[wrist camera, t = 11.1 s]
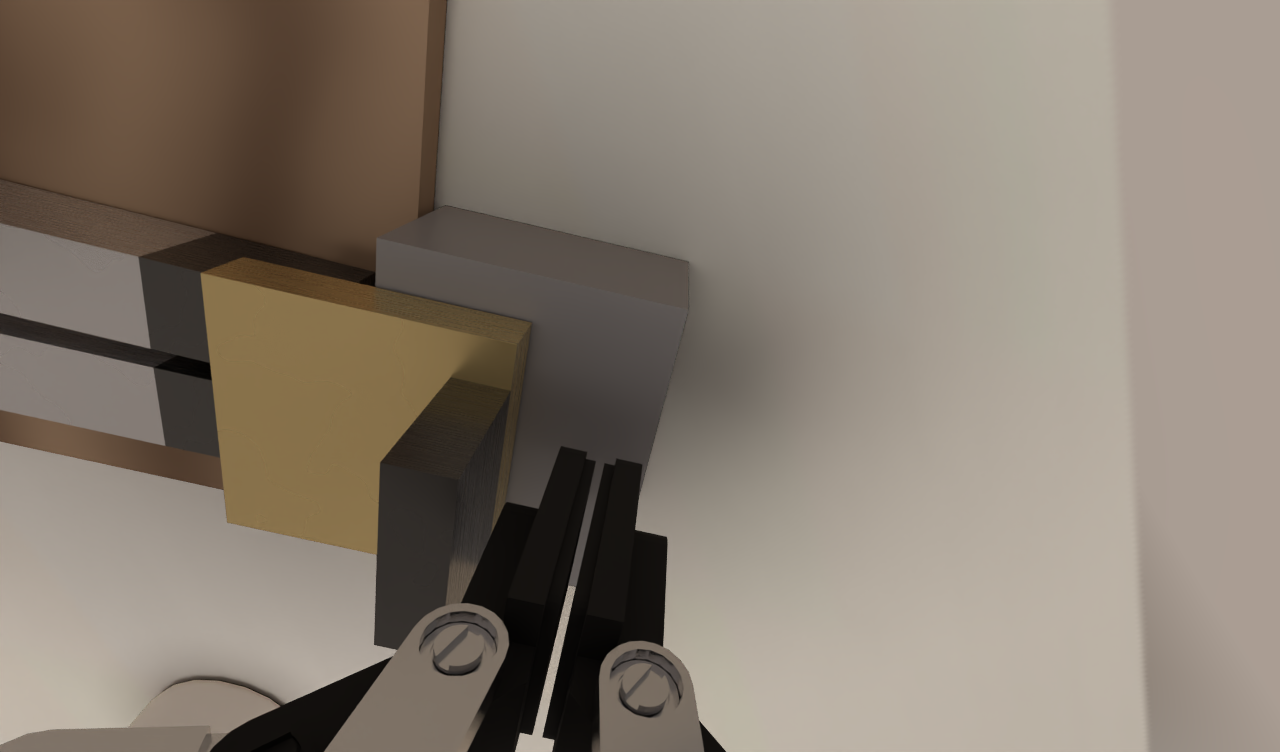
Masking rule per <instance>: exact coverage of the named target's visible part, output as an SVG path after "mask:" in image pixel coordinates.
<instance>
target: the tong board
mask: <svg viewBox="0 0 1280 752" xmlns="http://www.w3.org/2000/svg"><path fill="white" fill-rule="evenodd" d="M446 6H447V0H0V180H4V181H8V182H12V183H16V184H20V185H24V186H28V187H33V188H37V189H41V190H45V191H49V192H53V193H57V194H61V195H65V196H69V197H73V198H77V199H81V200H85V201H89V202H93V203H98V204H102V205H106V206H110V207H114V208H118V209H122V210H126V211H130V212H134V213H138V214H142V215H146V216H150V217H154V218H158V219H162V220H167V221H171V222H175V223H179V224H183V225H187V226H191V227H195V228H199V229H203V230H207V231H211V232H215V233H219V234H223V235H227V236H231V237H236V238H240V239H244V240H248V241H252V242H256V243H260V244H264V245H268V246H272V247H276V248H280V249H284V250H288V251H292V252H296V253H300V254H305V255H309V256H313V257H317V258H321V259H325V260H329V261H333V262H337V263H341V264H345V265H349V266H353V267H357V268H361V269H365V270H369V271H374V272H375V283H376V241H377V237H380V236H382V235H384V234H386V233H388V232H390V231H392V230H394V229H396V228H399V227H401V226H403V225H405V224H407V223H409V222H411V221H413V220H415V219H418V218H420V217H422V216H424V215H426V214H428V213H430V212H432V211H433V209H434V193H435V178H436V162H437V146H438V131H439V115H440V100H441V84H442V69H443V53H444V37H445V22H446ZM0 441H1V442H5V443H10V444H15V445H19V446H24V447H28V448H33V449H38V450H42V451H47V452H51V453H56V454H61V455H65V456H70V457H75V458H79V459H84V460H88V461H93V462H98V463H102V464H107V465H111V466H116V467H121V468H125V469H130V470H134V471H139V472H144V473H148V474H153V475H158V476H162V477H167V478H171V479H176V480H181V481H185V482H190V483H194V484H199V485H204V486H208V487H213V488H217V489H222V490H224V487H223V478H222V469H221V459H220V458H218V457H214V456H209V455H205V454H200V453H196V452H191V451H186V450H182V449H177V448H173V447H168V446H163V445H159V444H154V443H150V442H145V441H141V440H136V439H131V438H127V437H122V436H118V435H113V434H108V433H104V432H99V431H95V430H90V429H86V428H81V427H76V426H72V425H67V424H63V423H58V422H54V421H49V420H44V419H40V418H35V417H31V416H26V415H21V414H17V413H12V412H8V411H3V410H0Z"/></svg>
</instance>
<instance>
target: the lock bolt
mask: <svg viewBox="0 0 1280 752" xmlns="http://www.w3.org/2000/svg"><path fill="white" fill-rule="evenodd" d="M201 283H202V292H203V301H204V311H205V320H206V329H207V338H208V348H209V357H210V366H211V376H212V385H213V394H214V403H215V413H216V422H217V431H218V441H219V450H220V459H221V469H222V478H223V487H224V496H225V506H226V515H227V523H232V524H237V525H241V526H246V527H251V528H255V529H260V530H265V531H269V532H274V533H279V534H283V535H288V536H292V537H297V538H302V539H306V540H311V541H316V542H320V543H325V544H330V545H334V546H339V547H344V548H348V549H353V550H357V551H362V552H367V553H371V554H376V555H377V571H376V603H375V634H374V645H377V646H382V647H387V648H391V649H396V650H398V649H399V647H400V646H401V645H402V643H403V642H404V640H405V639H406V638H407V636H408V635H409V633H410V632H411V631H412V629H413V628H414V627H415V625H416V624H417V623H418V622H419V621H420V620H421V619H422V618H423V617H424V616H425V615H427V614H429V613H430V612H432V611H434V610H436V609H437V608H440V607H443V606H447V605H450V604H461V602H462V599H463V597H464V595H465V592H466V590H467V588H468V586H469V583H470V581H471V579H472V577H473V574H474V572H475V570H476V568H477V565H478V563H479V561H480V559H481V556H482V554H483V552H484V549H485V547H486V545H487V543H488V540H489V538H490V536H491V534H492V531H493V529H494V527H495V525H496V522H497V520H498V518H499V516H500V513H501V511H502V509H503V507H504V505H505V502H506V496H507V489H508V482H509V475H510V468H511V461H512V455H513V448H514V441H515V434H516V427H517V421H518V414H519V407H520V400H521V393H522V387H523V380H524V373H525V366H526V359H527V352H528V346H529V339H530V332H531V325H532V323H531V322H526V321H522V320H518V319H513V318H509V317H504V316H500V315H496V314H491V313H487V312H482V311H478V310H474V309H469V308H465V307H461V306H456V305H452V304H447V303H443V302H439V301H434V300H430V299H425V298H421V297H417V296H412V295H408V294H404V293H399V292H395V291H390V290H386V289H382V288H377V287H373V286H368V285H364V284H360V283H355V282H351V281H347V280H342V279H338V278H333V277H329V276H325V275H320V274H316V273H311V272H307V271H303V270H298V269H294V268H290V267H285V266H281V265H276V264H272V263H268V262H263V261H259V260H254V259H250V258H246V257H242V258H239V259H236V260H234V261H231V262H228V263H226V264H223V265H220V266H218V267H215V268H212V269H210V270H207V271H204V272H202V273H201Z"/></svg>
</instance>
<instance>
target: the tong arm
mask: <svg viewBox="0 0 1280 752" xmlns="http://www.w3.org/2000/svg"><path fill="white" fill-rule="evenodd" d="M242 257H246V258H250V259H254V260H259V261H263V262H268V263H272V264H276V265H281V266H285V267H290V268H294V269H298V270H303V271H307V272H311V273H316V274H320V275H325V276H329V277H333V278H338V279H342V280H347V281H351V282H355V283H360V284H364V285H368V286H373V287H375V272H374V271H369V270H365V269H361V268H357V267H353V266H349V265H345V264H341V263H337V262H333V261H329V260H325V259H321V258H317V257H313V256H309V255H305V254H300V253H296V252H292V251H288V250H284V249H280V248H276V247H272V246H268V245H264V244H260V243H256V242H252V241H248V240H244V239H240V238H236V237H231V236H227V235H223V234H219V233H215V232H211V231H207V230H203V229H199V228H195V227H191V226H187V225H183V224H179V223H175V222H171V221H167V220H162V219H158V218H154V217H150V216H146V215H142V214H138V213H134V212H130V211H126V210H122V209H118V208H114V207H110V206H106V205H102V204H98V203H93V202H89V201H85V200H81V199H77V198H73V197H69V196H65V195H61V194H57V193H53V192H49V191H45V190H41V189H37V188H33V187H28V186H24V185H20V184H16V183H12V182H8V181H4V180H0V313H3V314H7V315H11V316H15V317H19V318H24V319H28V320H32V321H36V322H40V323H45V324H49V325H53V326H57V327H61V328H66V329H70V330H74V331H78V332H82V333H87V334H91V335H95V336H99V337H103V338H108V339H112V340H116V341H120V342H124V343H128V344H133V345H137V346H141V347H145V348H149V349H154V350H158V351H162V352H166V353H170V354H175V355H179V356H183V357H187V358H191V359H196V360H200V361H204V362H208V363H210V357H209V348H208V338H207V329H206V320H205V311H204V301H203V292H202V283H201V273H202V272H204V271H207V270H210V269H212V268H215V267H218V266H220V265H223V264H226V263H228V262H231V261H234V260H236V259H239V258H242Z"/></svg>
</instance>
